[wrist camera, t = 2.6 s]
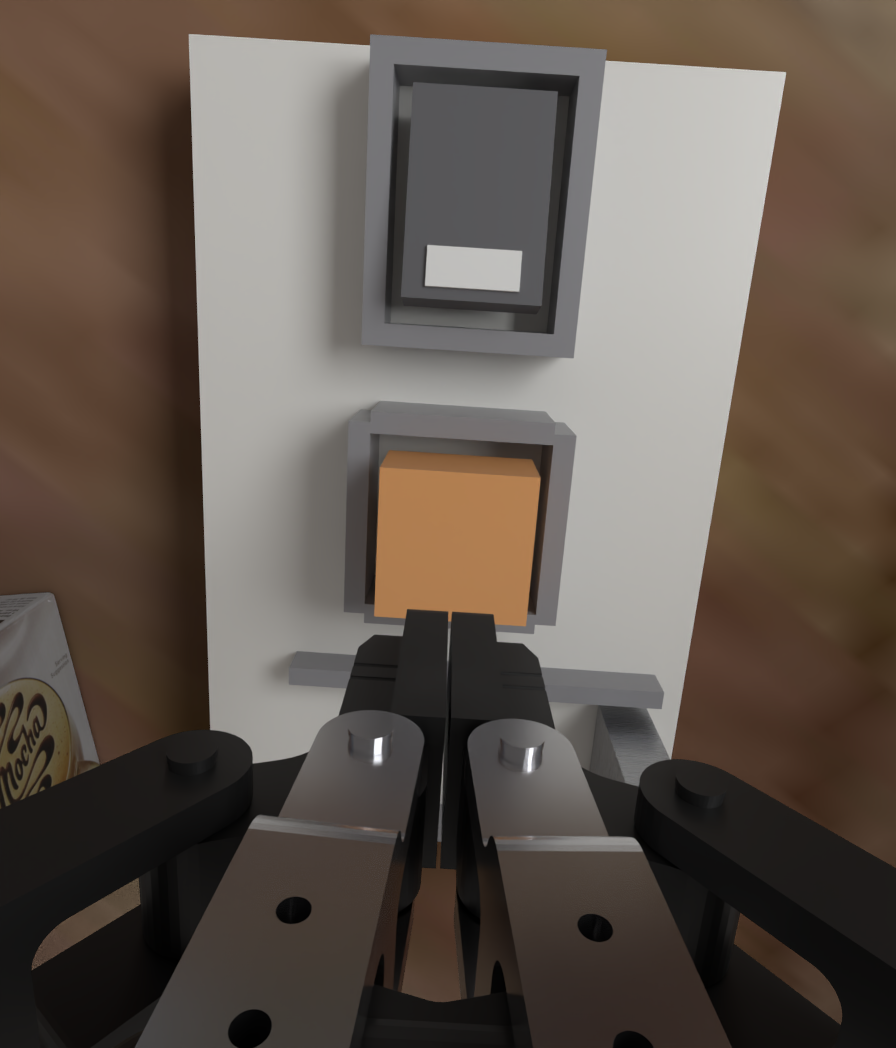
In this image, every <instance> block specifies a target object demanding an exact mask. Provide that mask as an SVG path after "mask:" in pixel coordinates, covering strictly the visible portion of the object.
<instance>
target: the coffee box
mask: <svg viewBox="0 0 896 1048" xmlns="http://www.w3.org/2000/svg"><path fill="white" fill-rule="evenodd" d="M97 766H100V763H99V760H98V756H97V752H96V748H95V745H94V741H93V737H92V733H91V730H90V726H89V722H88V719H87V715H86V711H85V708H84V704H83V700H82V696H81V693H80V689H79V685H78V682H77V678H76V674H75V671H74V667H73V663H72V660H71V656H70V652H69V649H68V645H67V641H66V637H65V634H64V630H63V626H62V622H61V619H60V615H59V611H58V608H57V604H56V600H55V597H54V594H52V593H49V592H47V593H31V594H18V595H6V596H0V809H1V808H4V807H6V806H8V805H10V804H13V803H15V802H17V801H20V800H22V799H24V798H26V797H29V796H31V795H33V794H36V793H38V792H40V791H43V790H45V789H47V788H49V787H52V786H54V785H56V784H59V783H61V782H63V781H65V780H68V779H70V778H72V777H75V776H77V775H79V774H81V773H84V772H86V771H88V770H91V769H93V768H95V767H97Z"/></svg>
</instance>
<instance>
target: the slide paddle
mask: <svg viewBox="0 0 896 1048" xmlns="http://www.w3.org/2000/svg"><path fill="white" fill-rule="evenodd" d="M664 760H670V758H669V756H668V753H667V751H666V749H665V747H664V745H663V743H662V740H661V738H660V736H659V734H658V732H657V730H656V728H655V725H654V723H653V721H652V719H651V717H650V715H649V712H648V710H647V708H635V707H620V706H605V705H598V710H597V717H596V725H595V732H594V740H593V747H592V755H591V762H590V770H589V771H590V772H592V773H595V774H597V775H600V776H602V777H606V778H609V779H612V780H616V781H620V782H623V783H627V784H631V785H635V786H639V781H640V776H641V774H642V772H643V771H644V770H645V769H646V768H647V767H648V766H650V765H651V764H654V763H656V762H659V761H664Z"/></svg>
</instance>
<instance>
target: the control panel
mask: <svg viewBox="0 0 896 1048" xmlns="http://www.w3.org/2000/svg"><path fill="white" fill-rule="evenodd" d="M606 52H607V50H604V49H588V48H573V47H557V46H541V45H526V44H510V43H495V42H479V41H463V40H448V39H432V38H416V37H401V36H385V35H370V46H367V45H352V44H336V43H320V42H305V41H289V40H274V39H258V38H242V37H227V36H211V35H196V34H189V57H190V89H191V122H192V154H193V187H194V219H195V251H196V284H197V316H198V349H199V381H200V414H201V446H202V478H203V511H204V543H205V576H206V608H207V641H208V673H209V705H210V730H216V731H222V732H227V733H230V734H233V735H236V736H238V737H240V738H241V739H243V740H244V741H245V742H246V743H247V744H248V745H249V746H250V748H251V750H252V756H253V764H254V763H261V762H268V761H275V760H281V759H287V758H291V757H295V756H299V755H302V754H304V753H307V752H309V750H310V748H311V746H312V744H313V742H314V740H315V737H316V735H317V733H318V732H319V730H320V728H321V727H322V726H323V725H324V724H325V723H327V722H328V721H330V720H331V719H333V718H335V717H337V716H339V712H340V709H341V705H342V702H343V698H344V695H345V692H346V688H347V685H348V681H349V679H350V674H351V671H352V668H353V666H354V661H355V657H356V654H357V650H358V647H359V646H360V645H362V644H363V643H364V642H366V641H367V640H368V639H369V638H371V637H372V636H373V635H392V636H403V631H404V625H405V618H390V617H375V616H374V608H375V581H376V555H377V528H378V501H379V474H380V466H381V464H382V462H383V460H384V459H385V457H386V455H387V453H388V451H389V450H396V451H411V452H427V453H442V454H457V455H473V456H488V457H503V458H518V459H532V460H533V462H534V465H535V467H536V469H537V471H538V473H539V475H540V477H541V480H540V490H539V501H538V511H537V521H536V531H535V541H534V551H533V561H532V571H531V581H530V591H529V601H528V611H527V621H526V626H512V625H496V624H495V629H496V637H497V642H508V643H523V644H524V645H525V646H526V647H527V648H528V649H529V650H530V651H531V652H532V653H534V654H535V655H536V656H537V657H538V659H539V663H540V667H541V671H542V677H543V680H544V684H545V691H546V692H547V696H548V701H549V705H550V709H551V713H552V717H553V721H554V726H555V730H557V731H558V732H560V733H561V734H562V735H564V736H565V737H566V738H567V739H568V740H569V741H570V743H571V744H572V746H573V748H574V750H575V753H576V755H577V758H578V760H579V763H580V765H581V767H583V768H584V769H586V770H588V771H589V770H590V762H591V755H592V747H593V740H594V732H595V725H596V717H597V710H598V705H605V706H620V707H635V708H647V710H648V712H649V715H650V717H651V719H652V721H653V723H654V725H655V728H656V730H657V732H658V734H659V736H660V738H661V740H662V743H663V745H664V747H665V749H666V751H667V753H668V756H669V758H670V760H671V756H672V750H673V744H674V738H675V732H676V726H677V720H678V714H679V708H680V702H681V696H682V690H683V684H684V678H685V672H686V666H687V660H688V654H689V648H690V642H691V636H692V630H693V625H694V619H695V613H696V607H697V601H698V595H699V589H700V583H701V577H702V571H703V565H704V559H705V553H706V547H707V541H708V535H709V529H710V523H711V517H712V511H713V505H714V499H715V493H716V488H717V482H718V476H719V470H720V464H721V458H722V452H723V446H724V440H725V434H726V428H727V422H728V416H729V410H730V404H731V398H732V392H733V386H734V380H735V374H736V368H737V362H738V356H739V351H740V345H741V339H742V333H743V327H744V321H745V315H746V309H747V303H748V297H749V291H750V285H751V279H752V273H753V267H754V261H755V255H756V249H757V243H758V237H759V231H760V225H761V219H762V214H763V208H764V202H765V196H766V190H767V184H768V178H769V172H770V166H771V160H772V154H773V148H774V142H775V136H776V130H777V124H778V118H779V112H780V106H781V100H782V94H783V88H784V82H785V77H786V72H773V71H757V70H741V69H726V68H710V67H695V66H679V65H663V64H648V63H632V62H617V61H606ZM413 82H418V83H434V84H450V85H465V86H481V87H496V88H512V89H527V90H543V91H558V97H557V110H556V124H555V137H554V150H553V163H552V176H551V189H550V202H549V215H548V228H547V241H546V254H545V267H544V280H543V294H542V306H541V308H540V309H539V311H538V313H537V314H522V313H507V312H491V311H476V310H461V309H445V308H430V307H414V306H404V304H403V301H402V298H401V288H402V270H403V252H404V235H405V217H406V199H407V182H408V164H409V147H410V129H411V111H412V94H413ZM450 630H451V621H448V651H447V674H448V659H449V644H450ZM443 755H444V753H443ZM442 792H443V767H442V782H441V796H440V811H439V825H438V840H437V841H438V842H441V829H442Z"/></svg>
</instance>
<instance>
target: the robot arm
mask: <svg viewBox="0 0 896 1048" xmlns="http://www.w3.org/2000/svg"><path fill="white" fill-rule="evenodd" d="M447 651H448V611H434V610H418V609H407V613H406V619H405V625H404V631H403V636H392V635H373V636H372V637H371V638H369V639H368V640H367V641H366V642H364V643H363V644H362V645H360V646H359V647H358V650H357V654H356V657H355V661H354V666H353V668H352V671H351V674H350V679H349V681H348V685H347V688H346V692H345V695H344V698H343V702H342V705H341V709H340V712H339V716H337V717H335V718H333V719H331V720H330V721H328V722H327V723H325V724H324V725H323V726H322V727H321V728H320V730H319V732H318V733H317V735H316V737H315V740H314V742H313V744H312V746H311V748H310V750H309V752H307V753H304V754H302V755H299V756H295V757H291V758H287V759H281V760H275V761H268V762H261V763H254V764H253V756H252V750H251V748H250V746H249V745H248V744H247V743H246V742H245V741H244V740H243V739H241V738H240V737H238V736H236V735H233V734H230V733H227V732H222V731H216V730H194V731H186V732H181V733H177V734H173V735H170V736H167V737H164V738H162V739H159V740H157V741H155V742H152V743H150V744H148V745H146V746H143V747H141V748H139V749H136V750H134V751H132V752H130V753H127V754H125V755H123V756H120V757H118V758H116V759H114V760H111V761H109V762H107V763H104V764H102V765H100V766H97V767H95V768H93V769H91V770H88V771H86V772H84V773H81V774H79V775H77V776H75V777H72V778H70V779H68V780H65V781H63V782H61V783H59V784H56V785H54V786H52V787H49V788H47V789H45V790H43V791H40V792H38V793H36V794H33V795H31V796H29V797H26V798H24V799H22V800H20V801H17V802H15V803H13V804H10V805H8V806H6V807H4V808H1V809H0V1048H896V868H894V867H893V866H891V865H889V864H887V863H886V862H884V861H882V860H880V859H879V858H877V857H875V856H873V855H872V854H870V853H868V852H866V851H865V850H863V849H861V848H859V847H858V846H856V845H854V844H852V843H851V842H849V841H847V840H845V839H844V838H842V837H840V836H838V835H837V834H835V833H833V832H831V831H830V830H828V829H826V828H824V827H823V826H821V825H819V824H817V823H816V822H814V821H812V820H810V819H809V818H807V817H805V816H803V815H802V814H800V813H798V812H796V811H795V810H793V809H791V808H789V807H788V806H786V805H784V804H782V803H781V802H779V801H777V800H775V799H774V798H772V797H770V796H768V795H766V794H765V793H763V792H761V791H759V790H758V789H756V788H754V787H752V786H751V785H749V784H747V783H745V782H744V781H742V780H740V779H738V778H737V777H735V776H733V775H731V774H729V773H728V772H726V771H724V770H721V769H719V768H716V767H714V766H711V765H708V764H705V763H701V762H696V761H690V760H678V759H673V760H664V761H659V762H656V763H654V764H651V765H650V766H648V767H647V768H646V769H645V770H644V771H643V772H642V774H641V776H640V781H639V786H635V785H631V784H627V783H623V782H620V781H616V780H612V779H609V778H606V777H602V776H600V775H597V774H595V773H592V772H590V771H588V770H586V769H584V768H583V767H581V765H580V763H579V760H578V758H577V755H576V753H575V750H574V748H573V746H572V744H571V743H570V741H569V740H568V739H567V738H566V737H565V736H564V735H562V734H561V733H560V732H558V731H557V730H555V726H554V721H553V717H552V713H551V709H550V705H549V701H548V696H547V692H546V691H545V684H544V680H543V677H542V671H541V667H540V663H539V659H538V657H537V656H536V655H535V654H534V653H532V652H531V651H530V650H529V649H528V648H527V647H526V646H525V645H524V644H523V643H508V642H497V637H496V629H495V622H494V615H493V614H485V613H468V612H452V617H451V630H450V644H449V659H448V674H447ZM443 753H444V755H443ZM442 767H443V792H442V829H441V865H440V868H442V869H456V894H455V907H454V929H455V940H456V951H457V962H458V973H459V984H460V995H461V1000H456V1001H451V1002H433V1001H428V1000H425V999H421V998H418V997H415V996H412V995H408V994H405V993H402V992H401V991H402V985H403V979H404V972H405V966H406V960H407V954H408V948H409V942H410V936H411V930H412V924H413V916H414V900H415V897H416V896H417V894H418V892H419V889H420V884H421V871H422V868H436V854H437V840H438V825H439V811H440V796H441V782H442ZM138 877H139V887H140V902H141V904H140V905H139V906H137V907H135V908H134V909H132V910H131V911H129V912H127V913H126V914H124V915H122V916H121V917H119V918H117V919H116V920H114V921H112V922H111V923H109V924H108V925H106V926H104V927H103V928H101V929H99V930H98V931H96V932H94V933H93V934H91V935H90V936H88V937H86V938H85V939H83V940H81V941H80V942H78V943H76V944H75V945H73V946H71V947H70V948H68V949H67V950H65V951H63V952H62V953H60V954H58V955H57V956H55V957H53V958H52V959H50V960H48V961H47V962H45V963H44V964H42V965H40V966H39V967H37V968H35V969H34V970H32V971H31V967H32V962H33V958H34V956H35V953H36V951H37V949H38V947H39V946H40V944H41V943H42V941H43V940H44V939H45V938H46V936H47V935H48V934H49V933H50V932H51V931H52V930H53V929H54V928H55V927H56V926H58V925H59V924H60V923H61V922H63V921H64V920H66V919H67V918H69V917H71V916H72V915H74V914H76V913H78V912H79V911H81V910H83V909H85V908H86V907H88V906H90V905H92V904H93V903H95V902H97V901H98V900H100V899H102V898H104V897H105V896H107V895H109V894H111V893H112V892H114V891H116V890H117V889H119V888H121V887H123V886H124V885H126V884H128V883H130V882H131V881H133V880H135V879H137V878H138ZM740 913H742V914H743V915H744V916H746V917H747V918H749V919H750V920H751V921H753V922H754V923H756V924H757V925H758V926H760V927H761V928H762V929H764V930H765V931H767V932H768V933H769V934H771V935H772V936H774V937H775V938H776V939H778V940H779V941H780V942H782V943H783V944H785V945H786V946H787V947H789V948H790V949H792V950H793V951H794V952H796V953H797V954H799V955H800V956H801V957H803V958H804V959H805V960H807V961H808V962H810V963H811V964H812V965H814V966H815V967H816V968H817V969H818V970H819V971H820V972H821V973H822V974H823V975H824V976H825V977H826V978H827V979H828V981H829V982H830V983H831V985H832V986H833V988H834V989H835V991H836V993H837V995H838V998H839V1000H840V1003H841V1007H842V1016H843V1017H842V1023H841V1025H840V1024H838V1023H837V1022H836V1021H835V1020H833V1019H832V1018H831V1017H829V1016H828V1015H827V1014H825V1013H824V1012H823V1011H821V1010H820V1009H819V1008H817V1007H816V1006H815V1005H814V1004H812V1003H811V1002H810V1001H808V1000H807V999H806V998H804V997H803V996H802V995H800V994H799V993H798V992H796V991H795V990H794V989H793V988H791V987H790V986H789V985H787V984H786V983H785V982H783V981H782V980H781V979H779V978H778V977H777V976H775V975H774V974H773V973H772V972H770V971H769V970H768V969H766V968H765V967H764V966H762V965H761V964H760V963H758V962H757V961H756V960H754V959H753V958H752V957H751V956H749V955H748V954H747V953H745V952H744V951H743V950H741V949H740V948H739V947H737V946H736V945H735V944H734V939H735V934H736V930H737V925H738V920H739V915H740Z"/></svg>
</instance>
